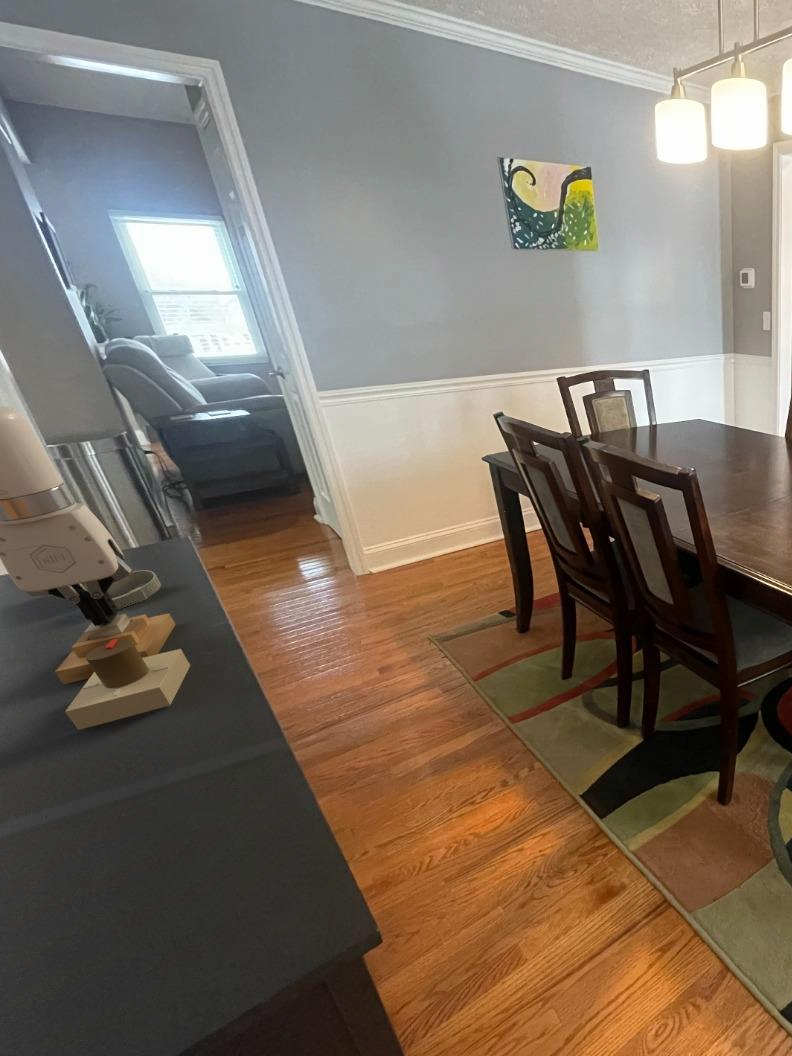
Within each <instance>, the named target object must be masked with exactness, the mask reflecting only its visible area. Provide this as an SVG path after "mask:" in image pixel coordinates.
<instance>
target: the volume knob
mask: <svg viewBox="0 0 792 1056" xmlns="http://www.w3.org/2000/svg"><path fill="white" fill-rule="evenodd" d="M85 658H86V660H87V661H88V663H89V664H90V666H91V667H92V669H93V670H94V672H95V673H96V675H97V676H98V678H99V679H100V681H101V682H102V684H103V685H104V686H105V687H107V688H115V687H120V686H124V685H127V684H130V683H132V682H135V681H137V680H139V679H140V678H142V677H143V676H145V675H146V674H147V673H148V671H149V669H148V667H147V665H146V664H145V662H144V660H143V659H142V657H141V655H140V654H139V652H138V651H137V649H136V647H135V646H134V644H133V642H132V641H130V640H119V641H118V640H117V639H114V640H111V641H110V642H109V643H107V644H104V645H102V646H99V647H97V648H95V649H93V650H92V651H90V652H89V653H88V654H87V655H86V657H85Z"/></svg>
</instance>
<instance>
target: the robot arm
mask: <svg viewBox="0 0 792 1056" xmlns="http://www.w3.org/2000/svg"><path fill="white" fill-rule="evenodd" d="M0 561H1V563H2V565H3V567H4V569H5V570H6V573H8V575H9V577H10V578H11V580H12V582H13V583H14V585H16V587H17V588H18V589H19V590H21V591H22V592H26V594H27V595H29V596H31V597H41V596H42V597H43V596H54V597H57V598H61V599H64V600H67V601H68V602H69V603H71V604H76V606H77V607H78V608H79V610H80V612H81V613H82V615H83V616H84V618H85V619H86V620H87V621H90V622H91V623H93V624H94V626H99V625H101V624H102V623H104V624H108V623H111V621H112V620H113V619H114V618H115V616H117V615H118V612H119V610H118V609H117V607H116V605H115V603H114V602H113V600H112V599H111V597H110V595H109V594H108V592H107V591H108V590H109V588H110V586H111V585H112V583H114V582H117V581H119V580H122V579H124V578H127V577H129V576H130V575H131V573H133V569H132V568H131V567H130V566H129V565H128V564H127V563H125V561H126V558H125V555H124V553H123V551H122V549H121V548H120V546H119V545H118V543H117V542H116V541H115V539H114V538H113V535H112V534H111V533H110V532H109V531H108V529H107V528H106V527H105V525H104V524H103V523H102V522H101V521H100V519H99V518H98V517H97V515H95V514H94V513H93V512H92V511H91V510H90V509H89V507H87V506H86V505H85V504H84V503H82V502H79V503H77V502H76V500H75V498H74V496H73V495H72V493H71V492H70V490H69V488H68V486H67V485H66V484H65V482H64V480H63V479H62V477H61V475H60V474H59V472H58V470H57V469H56V467H55V465H54V464H53V462H52V460H51V459H50V457H49V456H48V454H47V451H46V450H45V448H44V447H43V446H42V444H41V442H40V440H39V439H38V437H37V435H36V434H35V432H34V431H33V428H32V427H31V425H30V423H28V421H27V419H26V418H25V416H24V415H23V414H22V413H21V412H19V411H18V410H17V409H15V408H13V407H9V406H3V405H0ZM84 582H86V585H87V588H88V590H89V592H88V591H87V589H86V588H85V587H84V586H83V585H82V584H81V583H84Z"/></svg>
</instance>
